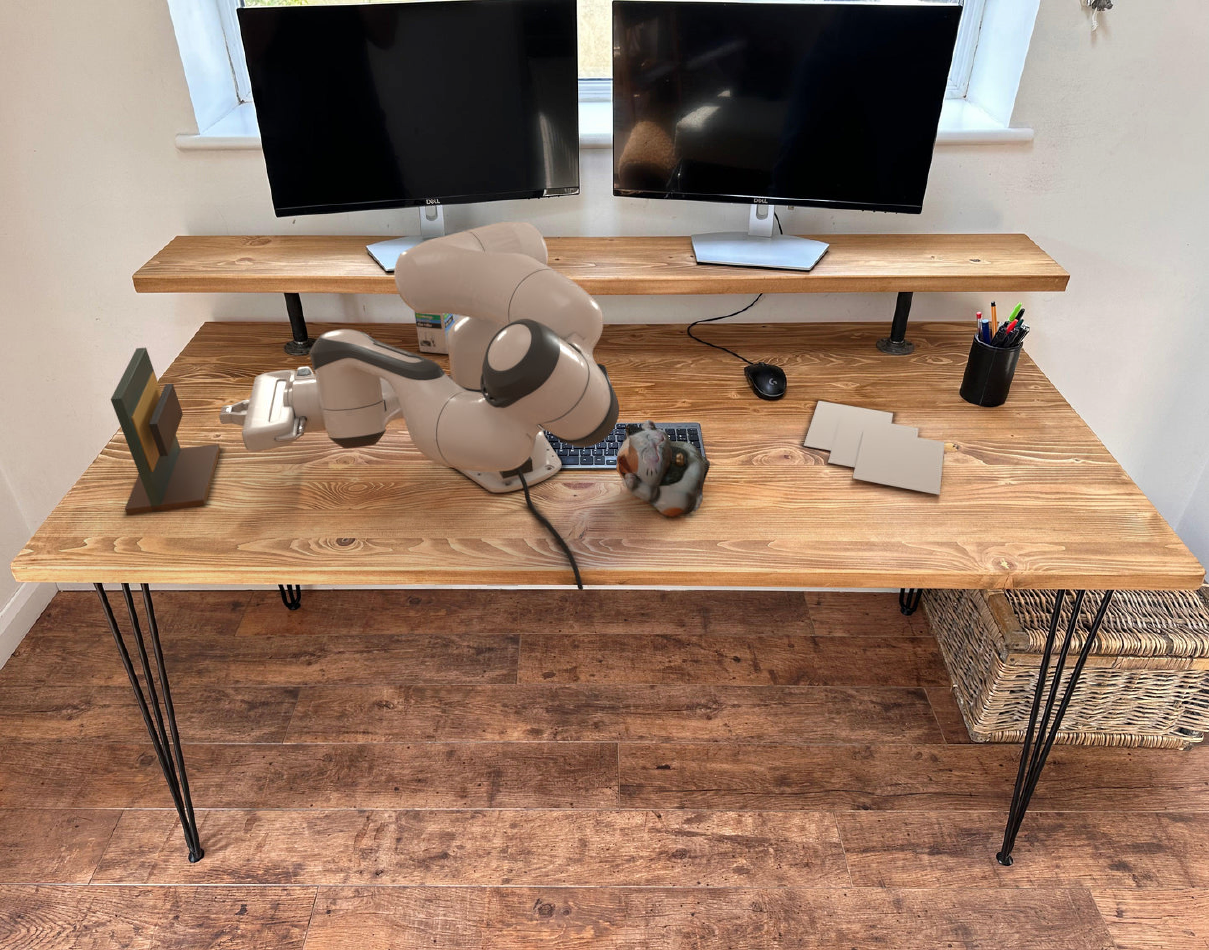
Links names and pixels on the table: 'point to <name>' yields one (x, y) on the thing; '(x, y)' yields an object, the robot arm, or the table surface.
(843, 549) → the table surface
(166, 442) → the switch button
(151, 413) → the switch stand
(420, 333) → the light bulb box
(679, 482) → the lucky cat figurine
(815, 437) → the paper stack
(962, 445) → the table surface
